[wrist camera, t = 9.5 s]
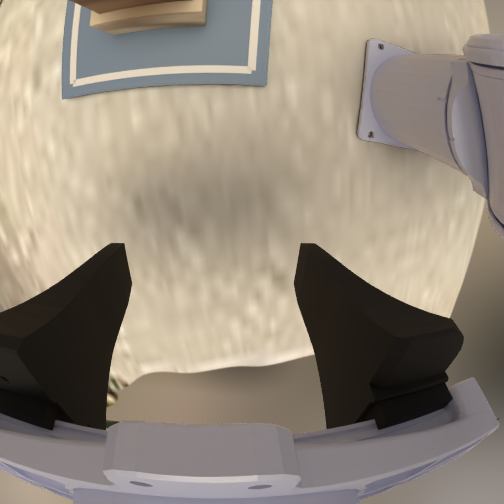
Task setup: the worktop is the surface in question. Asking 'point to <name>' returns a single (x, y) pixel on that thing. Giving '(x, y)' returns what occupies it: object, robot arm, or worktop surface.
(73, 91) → the board
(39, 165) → the worktop surface
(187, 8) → the maple base block
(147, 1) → the walnut cube
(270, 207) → the worktop surface
